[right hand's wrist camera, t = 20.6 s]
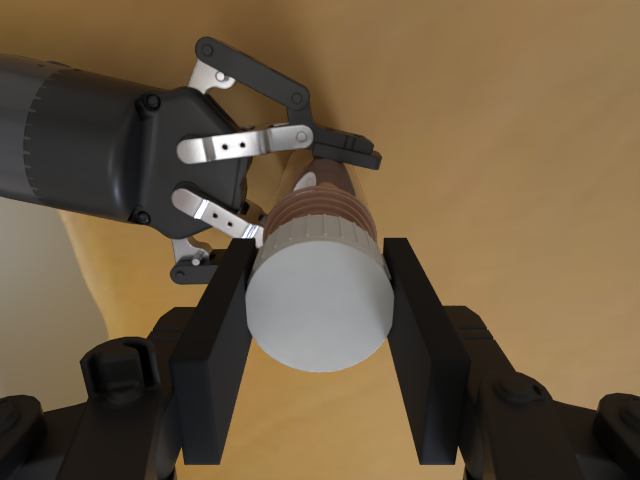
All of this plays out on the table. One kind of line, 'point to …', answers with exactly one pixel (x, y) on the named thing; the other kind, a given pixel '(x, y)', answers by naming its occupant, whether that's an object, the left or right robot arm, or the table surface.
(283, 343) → the cap
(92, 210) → the left robot arm
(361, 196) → the bottle
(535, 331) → the table surface
